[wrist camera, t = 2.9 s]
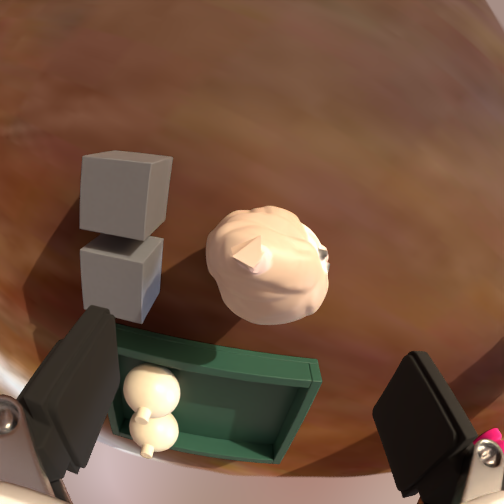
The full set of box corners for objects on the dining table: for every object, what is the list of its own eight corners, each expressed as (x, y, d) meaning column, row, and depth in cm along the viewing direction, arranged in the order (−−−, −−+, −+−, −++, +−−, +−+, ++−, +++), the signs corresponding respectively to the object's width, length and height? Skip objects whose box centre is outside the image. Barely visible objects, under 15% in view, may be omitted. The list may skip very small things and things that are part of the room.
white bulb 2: (183, 401, 24) (171, 450, 19) (181, 428, 25) (172, 472, 21) (135, 390, 24) (117, 435, 19) (138, 418, 25) (123, 460, 20)
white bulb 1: (186, 358, 22) (172, 410, 17) (183, 394, 24) (171, 443, 19) (131, 345, 22) (107, 393, 17) (134, 383, 23) (115, 428, 18)
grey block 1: (173, 156, 17) (151, 163, 14) (165, 220, 19) (144, 241, 15) (114, 150, 17) (81, 155, 13) (109, 210, 19) (79, 229, 15)
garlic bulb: (325, 202, 18) (369, 249, 11) (310, 295, 20) (334, 378, 13) (215, 193, 18) (186, 234, 11) (211, 288, 20) (189, 370, 13)
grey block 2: (163, 238, 19) (143, 262, 15) (159, 292, 21) (141, 324, 17) (108, 228, 19) (79, 249, 15) (108, 280, 20) (83, 309, 17)
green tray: (317, 358, 23) (322, 381, 20) (278, 444, 27) (279, 464, 25) (107, 320, 22) (93, 339, 19) (120, 415, 26) (112, 434, 24)
